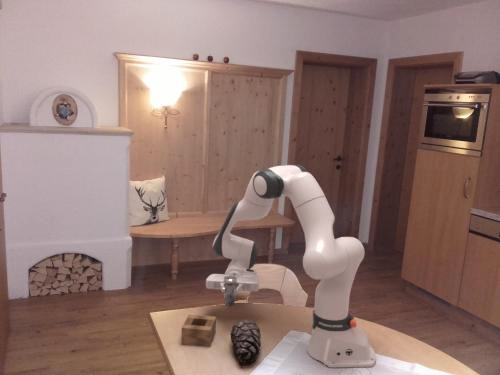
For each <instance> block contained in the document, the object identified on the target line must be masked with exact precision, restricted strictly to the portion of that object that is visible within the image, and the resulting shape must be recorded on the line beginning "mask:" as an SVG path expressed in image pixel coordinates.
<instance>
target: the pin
mask: <svg viewBox="0 0 500 375" xmlns="http://www.w3.org/2000/svg"><path fill="white" fill-rule="evenodd" d="M236 282H237V278H236V277H234V276H227V277H224V283H226V293H225V306H226V307H232V306H235V293H234V288H235V283H236Z"/></svg>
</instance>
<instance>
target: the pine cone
mask: <svg viewBox="0 0 500 375" xmlns="http://www.w3.org/2000/svg"><path fill="white" fill-rule="evenodd" d="M230 340H231V345H232V349H233V356H234V358H235V360H236V361H237V364H238V366H239V367H240V368H241V369H244V368H247V367H250V366H252V365H254V364H255V362H257V358H258V356H259V355H260V351H261V344H262V342H261V329H260V327H259V326H258V324H257V323H256V322H255V321H253V320H250V319H240V320H238V321H236V322H235V323H234V324H233V325H232V328H231V331H230Z"/></svg>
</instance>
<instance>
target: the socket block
mask: <svg viewBox="0 0 500 375" xmlns="http://www.w3.org/2000/svg"><path fill="white" fill-rule="evenodd" d="M216 328H217V316H214V315H213V316H210V315H200V314H199V315H197V314H188V315H187V317H186V319H185V320H184V322H183V325H182V326H181V345H185V346H186V345H188V346H189V345H190V346H197V347H198V346H199V347H211V345H212V343H213V340H214V337H215V335H216V330H217V329H216Z"/></svg>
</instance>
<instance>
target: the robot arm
mask: <svg viewBox="0 0 500 375" xmlns="http://www.w3.org/2000/svg"><path fill="white" fill-rule="evenodd" d="M282 197H283V198H284V197H288V198H289V200H290V201H291V203H292V206H293V208H294V211H295V213H296V215H297V218H298V221H299V223H300V224H301V227H302V231H303V233H304V239H305V240H304V241H305V252H304V255H303V257H302V267H303V270H304V271H305V273H306V274H307V276H308V277H310V278H311V279H313V280H318V281H319V280H320V281H319V282H318V284H317V285H316V288H315V292H314V294H315V295H314V309H313V310H312V314H311V326H312V330H311V335H310V339H309V343H308V345H307V350H306V352H307V353H308V354H309V356H310V357H311V358H313V359H314V360H317V361H318V360H319V361H318V362H320V361H321V363H322V362H323V363H324V364H323V363H322V364H323V365H324V366H326V365H327V366H328V367H327V366H326V367H327V368H367V367H368V368H369V367H374V365H375V364H376V361H377V357H376V352H375V350H374V348H373V347H372V345H370V343H369V339H368V337H367V335H366V334H365V332H364V331H363V330H362V329H360V328H359V327H358V326H357V322H356V320H355V317H354V315H353V314H352V312H349V306H350V295H351V289H352V287H353V283H354V280H355V277H356V274H357V272H358V269H359V267H360V264H361V263H362V262H363V260H364V259H365V253H366V252H365V248H364V245H363V243H362V242H361V240H359V239H358V238H356V237H353V236H341V237H338V238H335V235H334V230H333V226H334V223H335V220H336V219H335V214H334V213H333V210H332V208H331V206H330V204H329V202H328V199H327V197H326V195H325V194H324V191H323V189H322V188H321V186H320V185H319V183H318V182H317V180H316V178H315V177H314V176H313V175H312V174H311V172H308V170H307V169H306V168H305V167H304V166H303V165H302V164H301V165H300V164H292V163H291V164H286V165H277V166H271V167H268V168H263V169H260V170H258V171H255V173H253V175H252V177H251V178H250V180H249V182H248V185H247V186H246V191H245V193H244V196H243V198H242V199H241V200H240V201H235V202H234V204H233V205H232V206H231V208H230V210H229V212H228V214H227V216H226V218H225V220H224V222H223V224H222V226H221V229H220V231H219V232H218V233H217V235H216V236H215V238H214V239H213V242H212V252H214V254H215V255H216V256H217V257H222V258H226V259H230V260H231V261H230V262H229V264H228V265H227V268H226V270H225V272H224V274H223V273H212V274H210V275H208V277H207V278H206V279H205V287H206V289H208V290H211V289H212V290H221V293H225V294H226V283H224V277H227V276H234V277H236V278H237V282H236V283H235V288H234V294H239V293H240V292H255V293H256V292H258V291H259V290H260V277H259V276H258V271H257V270H254V269H252V268H253V267H254V266H255V263H256V260H257V256H258V252H259V248H258V245H257V243H256V241H254V240H251V239H248V238H244V237H241V236H237V235H234V234H232V233H231V232H232V229H233V228H234V225H235V224H236V223H238V222H241V221H257V220H261V219H263V218H265V217H267V215H268V214H269V213H270V212H271V209H272V206H273V203H274V200H275V199H277V198H282Z"/></svg>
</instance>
